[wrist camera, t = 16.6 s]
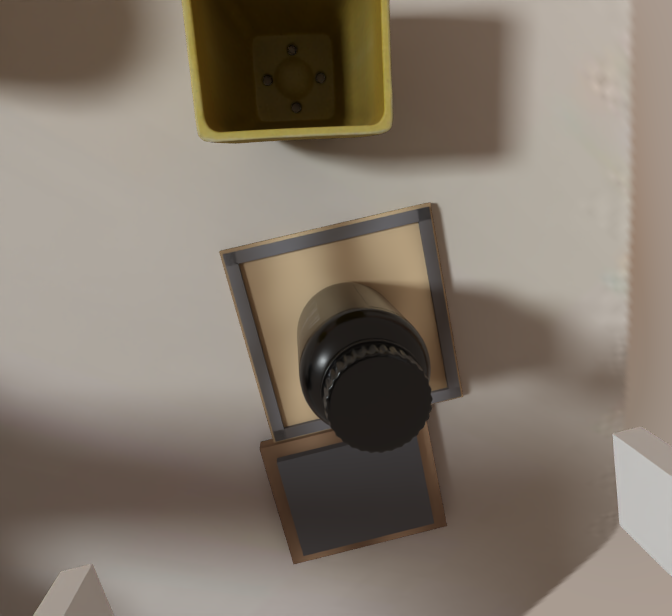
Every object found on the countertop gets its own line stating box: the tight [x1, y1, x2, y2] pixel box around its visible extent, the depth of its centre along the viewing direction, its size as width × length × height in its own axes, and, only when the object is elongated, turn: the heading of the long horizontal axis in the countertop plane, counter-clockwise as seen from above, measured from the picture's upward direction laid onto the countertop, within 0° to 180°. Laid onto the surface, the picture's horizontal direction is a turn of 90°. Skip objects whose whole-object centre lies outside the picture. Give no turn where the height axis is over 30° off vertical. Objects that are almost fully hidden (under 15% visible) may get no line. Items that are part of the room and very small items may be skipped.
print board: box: [219, 203, 463, 443], centre depth 32 cm, size 14×14×1 cm
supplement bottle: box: [297, 282, 433, 453], centre depth 26 cm, size 7×7×12 cm
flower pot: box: [182, 0, 393, 143], centre depth 24 cm, size 9×9×9 cm
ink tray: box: [260, 421, 447, 564], centre depth 34 cm, size 12×10×1 cm
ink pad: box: [277, 436, 434, 556], centre depth 34 cm, size 10×8×1 cm
